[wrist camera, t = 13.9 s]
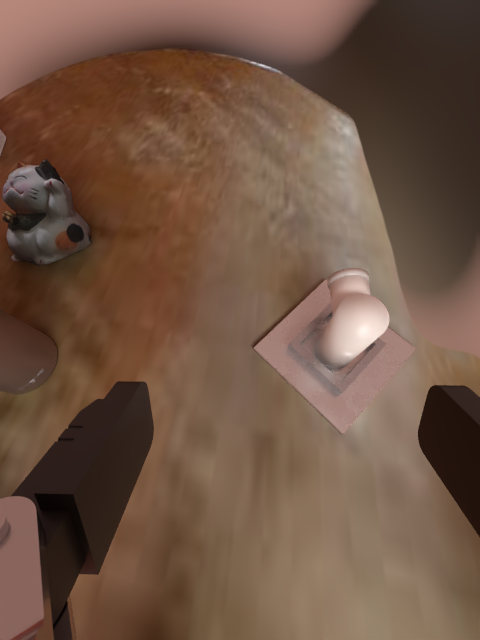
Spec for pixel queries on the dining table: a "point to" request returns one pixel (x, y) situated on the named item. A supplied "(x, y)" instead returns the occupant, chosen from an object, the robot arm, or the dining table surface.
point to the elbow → (350, 318)
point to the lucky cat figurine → (42, 216)
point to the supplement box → (2, 141)
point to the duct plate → (320, 380)
